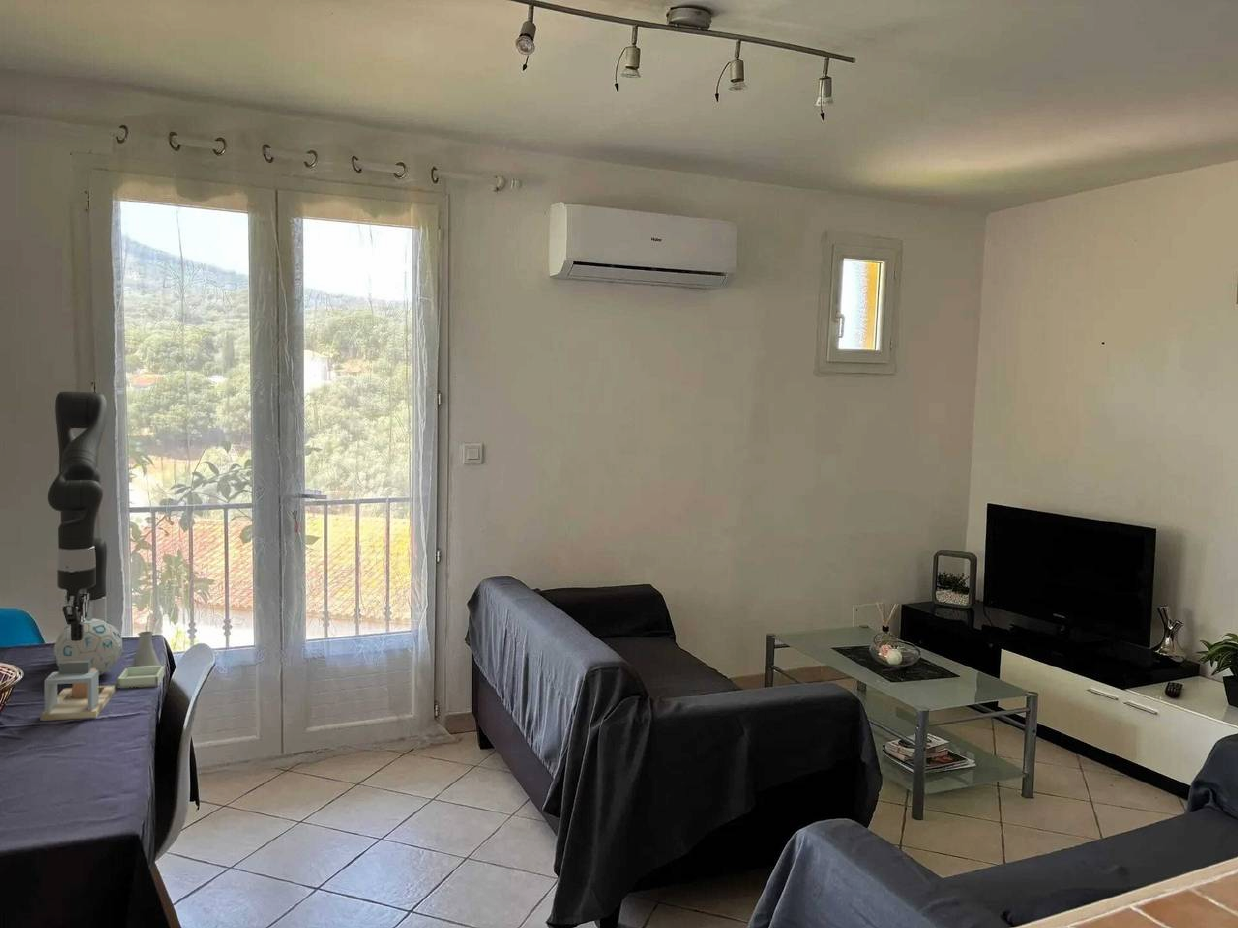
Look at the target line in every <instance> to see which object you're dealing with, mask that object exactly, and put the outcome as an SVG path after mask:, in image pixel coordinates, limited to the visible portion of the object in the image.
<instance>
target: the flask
mask: <svg viewBox="0 0 1238 928" xmlns="http://www.w3.org/2000/svg"><path fill="white" fill-rule="evenodd" d="M153 634H154V633H153V632H152V631H149V630H148V631H141V632H139V633H138V636H139V642H138V646H137V650H136V653H135V655H134V658H133V660H132V661H131V665H130V667H146V666H162V665H161V662H160V661H159V658H158V657H157V654H156V652H155V649H154V646H153V641H152V640H153V639H152V636H153Z"/></svg>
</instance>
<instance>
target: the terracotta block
mask: <svg viewBox="0 0 1238 928" xmlns="http://www.w3.org/2000/svg"><path fill="white" fill-rule="evenodd" d="M90 670H96V668H90ZM72 688H73V695H72V699H77V698H87V683H72Z"/></svg>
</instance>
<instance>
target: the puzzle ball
mask: <svg viewBox="0 0 1238 928" xmlns="http://www.w3.org/2000/svg"><path fill="white" fill-rule="evenodd" d="M122 652H123V639H122V637H121V634H120V632H119V630H118V629H117V628H116V627H115V626H113V624H111V623H109V622H108V621H107V622H106V621H102V620H100V619H95V618H93V619H92V618H90V619H85V622H84V637H83V638H82V639H81V640H79V641H72V640H71V625H69V626H68V627H67V626H66V627H65V628H64V629H63V631H61V632H60V633H59V635H58V636H57V638H56V641H55V644H54V646H53V657H54V660H55V663H56V665H57V666H58V664H59V663H60V662H64V661H85V660H90V668H96V670H98V677H100V676H101V675H103V674H105V673H106V672H108V671H109V670H110V669H111V668H113V667H114V666H115V665H116V664H117V663H118V661H119V659H120V657H121V654H122Z"/></svg>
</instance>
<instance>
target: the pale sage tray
mask: <svg viewBox="0 0 1238 928" xmlns="http://www.w3.org/2000/svg"><path fill="white" fill-rule="evenodd" d="M165 668H166V667H165V665H161V666H146V667H131V666H129V667H125V668H124V669H123V671H122V672H121V673H120V674H119V676H118V677H117V678H116V679H117V681H116V682H117V684H116V685H117V686H116V687H117V688H120V689H135V688H136V687H138V688H152V687H153V688H154V687H156V688H157V687H158V686H159V684H161V681H162V680H163V678H164V676H166V675H165V673H166V671H165ZM130 687H131V688H130ZM133 687H135V688H133Z"/></svg>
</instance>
